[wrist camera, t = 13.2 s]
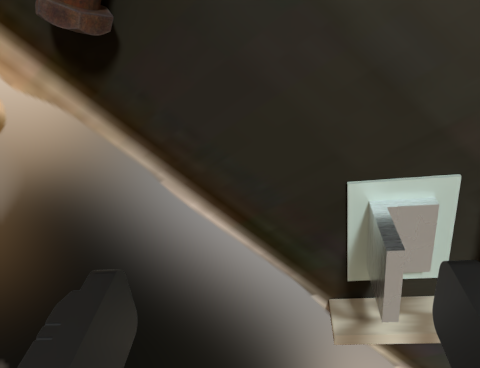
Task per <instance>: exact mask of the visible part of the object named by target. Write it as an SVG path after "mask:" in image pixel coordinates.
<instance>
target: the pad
mask: <svg viewBox="0 0 480 368" xmlns="http://www.w3.org/2000/svg"><path fill="white" fill-rule="evenodd" d="M460 182H461V175H460V174H456V175H441V176H427V177H412V178H398V179H383V180H369V181H354V182H347V280H348V281H362V280H370V277H369V274H368V270H367V267H366V262H367V236H368V211H369V201H381V200H398V199H416V198H434V197H435V198H436V199H437V201H438V203H439V204H440V205H439V212H438V219H437V227H436V234H435V241H434V249H433V256H432V263H431V270H430V272H411V273H403V279H415V278H438V273H439V268H440V265H441V263H442V262H443V261H449V255H450V248H451V241H452V235H453V228H454V222H455V215H456V209H457V202H458V195H459V189H460Z"/></svg>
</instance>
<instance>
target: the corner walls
mask: <svg viewBox="0 0 480 368" xmlns="http://www.w3.org/2000/svg"><path fill="white" fill-rule="evenodd" d="M433 301H434V296H419V297H401V301H400V311H399V322H382V320H381V317H380V313H379V310H378V306H377V302H376V299H375V298H356V299H329V310H330V317H331V323H332V331H333V338H334V344H335V345H351V344H410V343H441V342H440V340H439V338H438V335H437V333H436V330H435V327H434V322H433V314H432V308H433Z"/></svg>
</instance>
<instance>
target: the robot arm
mask: <svg viewBox="0 0 480 368" xmlns="http://www.w3.org/2000/svg"><path fill="white" fill-rule="evenodd" d="M432 314H433V322H434V327H435V330H436V333H437V335H438V338H439V340H440V342H441V345H442V347H443V349H444V351H445V354H446V356H447V358H448V361H449V363H450V365H451V368H480V262H479V261H477V260H461V261H443V262H442V263H441V265H440V268H439V273H438V279H437V285H436V290H435V296H434V301H433V308H432ZM136 328H137V311H136V308H135V304H134V301H133V298H132V294H131V291H130V288H129V285H128V281H127V278H126V275H125V273H124V271H123V270H121V269H118V270H93V271H92V272H91V273H90V274H89V276H88V277H87V279H86V281H85V283H84V284H83V286H82V288H81V290H79V291H72V292H70V293H69V294H68V295H67V296H66V297H65V298H64V299H63V300H62V301H60V302H59V303H58V304H57V305H56V306H55V308H54V309H53V311H52V313H51V314H50V316H49V317H48V319H47V321H46V322H45V326H43V327H42V329H41V330H40V332H39V334H38V335H37V337H36V338H37V339H36V341H34V342H33V343H32V345H31V347H30V348H29V350H28V351H27V353H26V355H25V356H24V358H23V360H22V361H21V363H20V364H19V366H18V368H124V365H125V362H126V359H127V356H128V354H129V351H130V348H131V345H132V343H133V340H134V337H135V334H136Z"/></svg>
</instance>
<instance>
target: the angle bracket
mask: <svg viewBox="0 0 480 368" xmlns="http://www.w3.org/2000/svg"><path fill="white" fill-rule="evenodd" d="M439 205H440V204H439V203H438V201H437V199H436V198H435V197H434V198H416V199H398V200H381V201H369V211H368V236H367V262H366V267H367V270H368V274H369V277H370V281H371V285H372V288H373V292H374V295H375V299H376V302H377V306H378V310H379V313H380V317H381V320H382V322H399V311H400V301H401V290H402V280H403V273H411V272H430V270H431V263H432V256H433V249H434V241H435V234H436V227H437V219H438V212H439Z"/></svg>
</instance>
